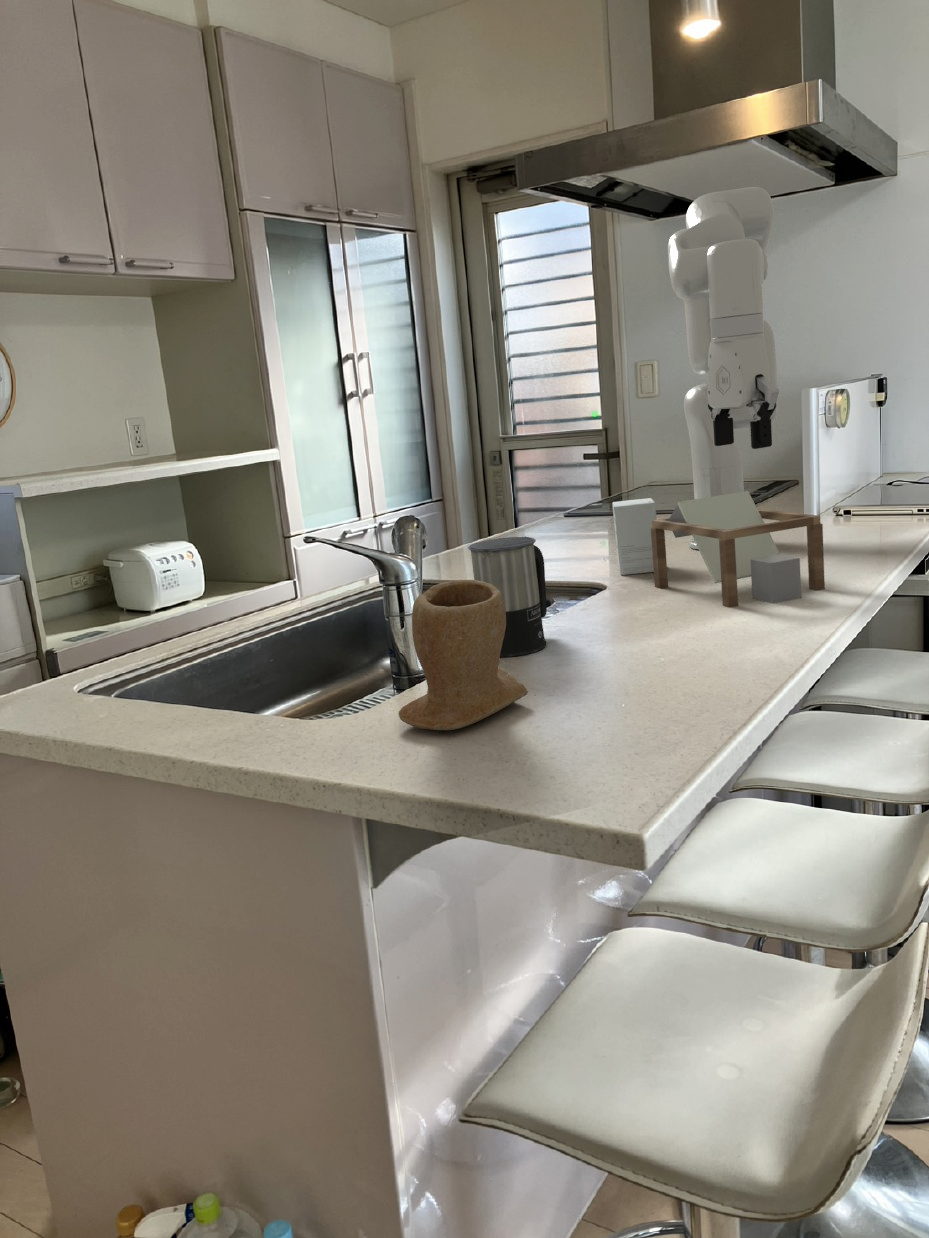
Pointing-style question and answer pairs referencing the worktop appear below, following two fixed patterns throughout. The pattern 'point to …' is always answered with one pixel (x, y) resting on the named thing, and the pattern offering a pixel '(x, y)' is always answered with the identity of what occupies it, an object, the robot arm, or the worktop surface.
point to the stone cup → (460, 656)
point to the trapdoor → (727, 516)
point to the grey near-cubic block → (776, 578)
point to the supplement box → (634, 535)
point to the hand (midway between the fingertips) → (742, 446)
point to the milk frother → (515, 589)
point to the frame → (728, 547)
